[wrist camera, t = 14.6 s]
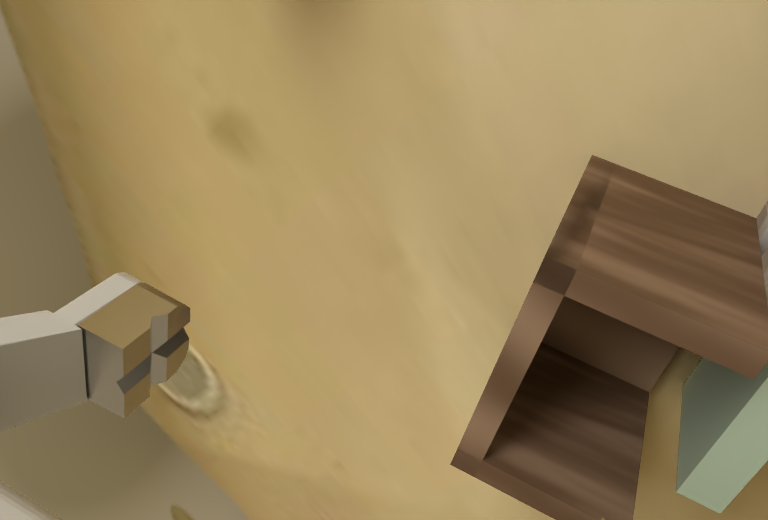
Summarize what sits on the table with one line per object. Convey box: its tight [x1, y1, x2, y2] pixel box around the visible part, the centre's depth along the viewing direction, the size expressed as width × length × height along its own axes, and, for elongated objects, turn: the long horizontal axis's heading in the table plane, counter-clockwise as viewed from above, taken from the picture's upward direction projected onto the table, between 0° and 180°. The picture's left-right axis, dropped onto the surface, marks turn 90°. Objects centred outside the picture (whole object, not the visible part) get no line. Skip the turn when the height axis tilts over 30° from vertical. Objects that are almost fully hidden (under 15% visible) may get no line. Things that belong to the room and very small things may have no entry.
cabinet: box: [450, 155, 768, 520], centre depth 36 cm, size 17×16×14 cm
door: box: [676, 357, 768, 514], centre depth 37 cm, size 13×4×10 cm, turn 166°
